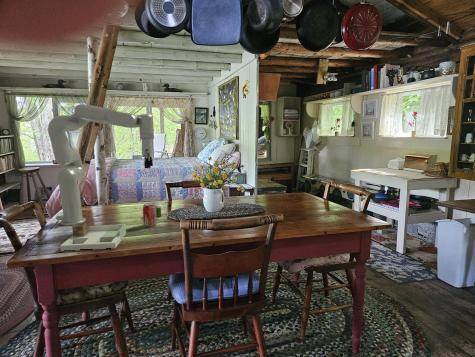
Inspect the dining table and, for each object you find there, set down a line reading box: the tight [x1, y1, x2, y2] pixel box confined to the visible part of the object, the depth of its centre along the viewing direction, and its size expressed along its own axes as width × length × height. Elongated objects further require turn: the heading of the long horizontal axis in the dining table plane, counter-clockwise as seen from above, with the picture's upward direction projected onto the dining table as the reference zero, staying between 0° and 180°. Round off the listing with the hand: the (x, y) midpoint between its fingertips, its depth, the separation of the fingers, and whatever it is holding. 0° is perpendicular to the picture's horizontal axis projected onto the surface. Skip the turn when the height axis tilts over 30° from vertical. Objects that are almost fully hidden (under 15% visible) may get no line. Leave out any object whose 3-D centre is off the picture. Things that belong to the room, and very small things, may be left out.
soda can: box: [142, 202, 158, 227], centre depth 166 cm, size 7×7×12 cm
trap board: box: [60, 223, 127, 252], centre depth 143 cm, size 23×19×5 cm
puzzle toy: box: [155, 204, 162, 218], centre depth 183 cm, size 6×6×6 cm
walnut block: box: [71, 222, 89, 237], centre depth 145 cm, size 5×5×5 cm
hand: (148, 167), depth 173 cm, fingers open, 9 cm apart
